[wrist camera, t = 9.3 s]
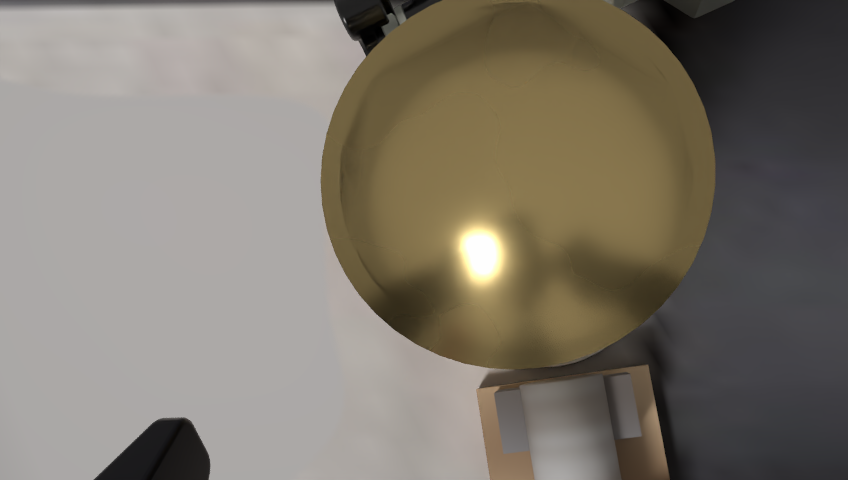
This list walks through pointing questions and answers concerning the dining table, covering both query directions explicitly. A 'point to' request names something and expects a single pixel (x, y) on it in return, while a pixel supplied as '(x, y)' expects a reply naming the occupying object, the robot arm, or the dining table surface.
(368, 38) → the valve
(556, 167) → the gold tall rounded piece
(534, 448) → the small brown box
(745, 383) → the dining table surface
